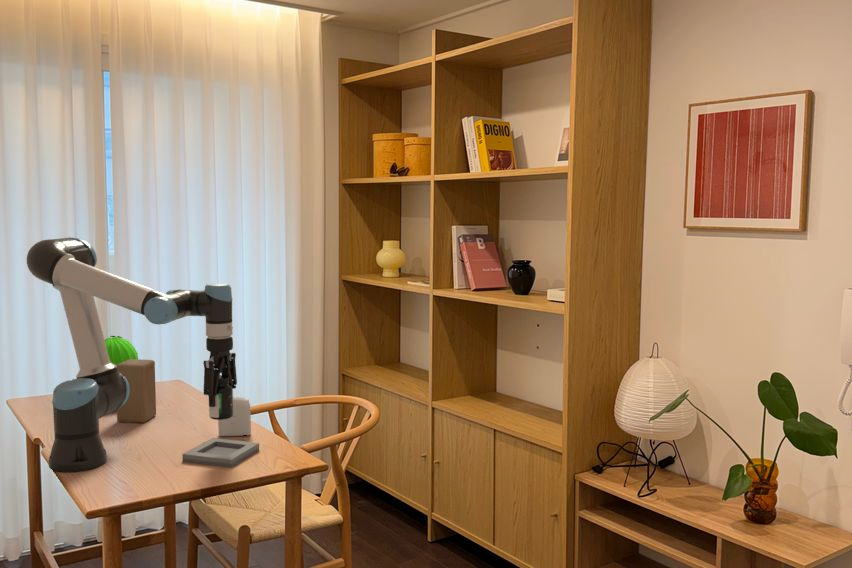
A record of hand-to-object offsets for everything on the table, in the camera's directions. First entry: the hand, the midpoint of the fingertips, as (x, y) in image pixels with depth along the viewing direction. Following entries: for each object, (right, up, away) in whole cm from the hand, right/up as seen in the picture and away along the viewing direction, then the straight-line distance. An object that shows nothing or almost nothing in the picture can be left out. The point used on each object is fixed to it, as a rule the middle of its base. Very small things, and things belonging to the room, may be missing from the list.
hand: (221, 413), depth 229 cm
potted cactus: (-55, -6, +61) cm, 82 cm away
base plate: (0, -13, +1) cm, 13 cm away
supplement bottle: (0, -1, 0) cm, 1 cm away
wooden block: (-39, -8, +38) cm, 55 cm away
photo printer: (-1, -11, +22) cm, 24 cm away
